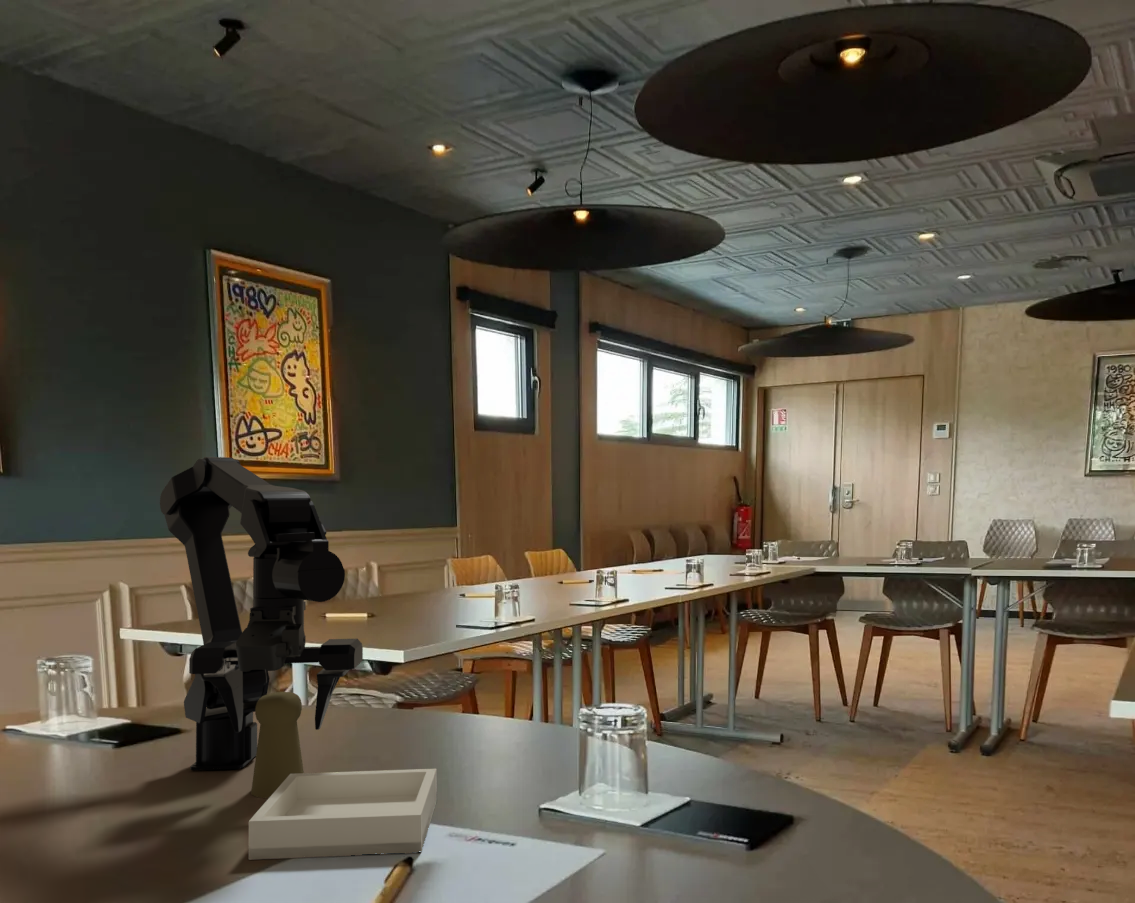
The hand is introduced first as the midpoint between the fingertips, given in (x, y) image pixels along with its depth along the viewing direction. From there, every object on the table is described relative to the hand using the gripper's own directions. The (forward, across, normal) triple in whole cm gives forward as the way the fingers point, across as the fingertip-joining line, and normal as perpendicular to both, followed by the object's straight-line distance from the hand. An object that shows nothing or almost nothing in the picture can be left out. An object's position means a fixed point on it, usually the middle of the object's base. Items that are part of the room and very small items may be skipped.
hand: (278, 730), depth 99 cm
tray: (+7, +11, -13) cm, 18 cm away
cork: (+7, 0, 0) cm, 7 cm away
